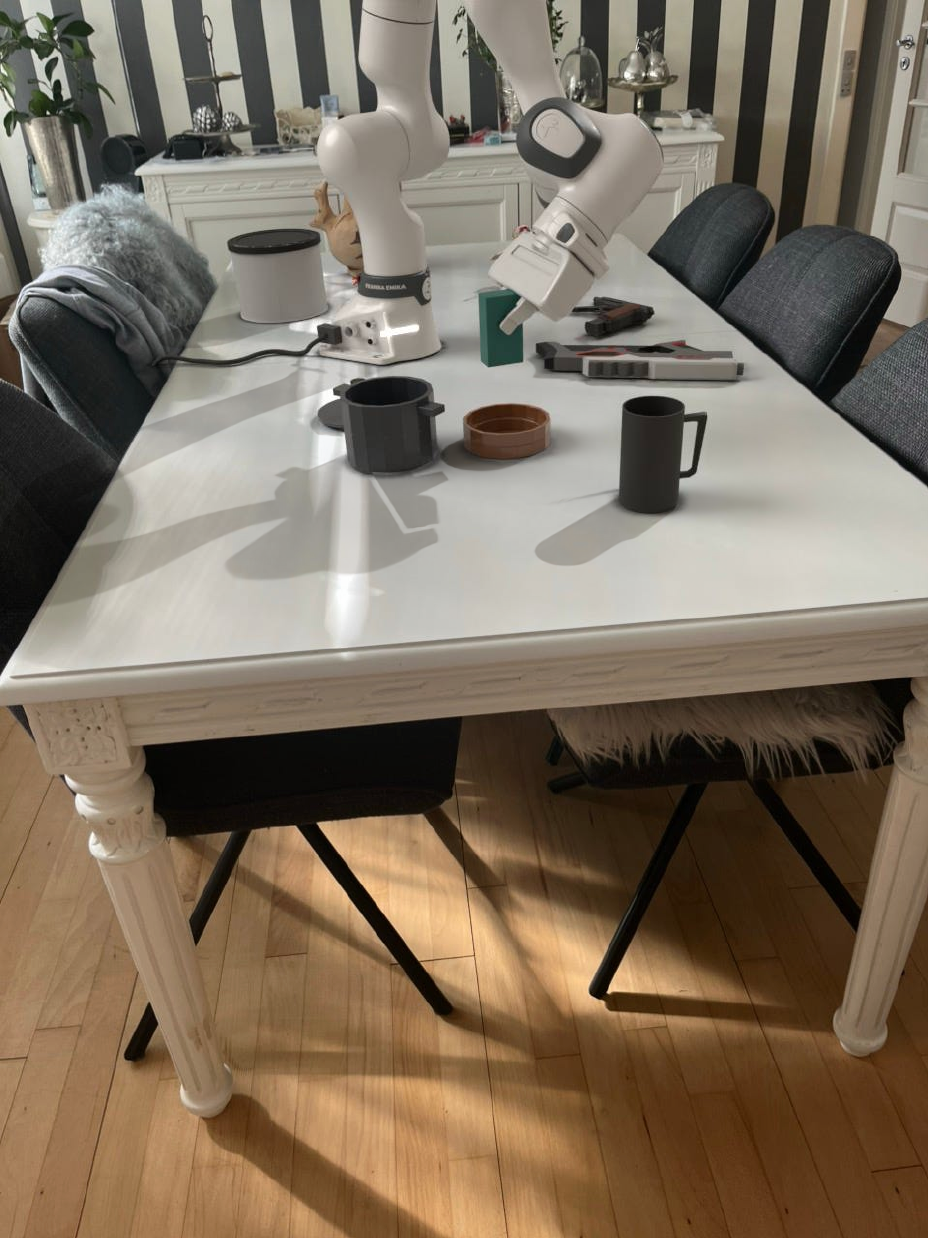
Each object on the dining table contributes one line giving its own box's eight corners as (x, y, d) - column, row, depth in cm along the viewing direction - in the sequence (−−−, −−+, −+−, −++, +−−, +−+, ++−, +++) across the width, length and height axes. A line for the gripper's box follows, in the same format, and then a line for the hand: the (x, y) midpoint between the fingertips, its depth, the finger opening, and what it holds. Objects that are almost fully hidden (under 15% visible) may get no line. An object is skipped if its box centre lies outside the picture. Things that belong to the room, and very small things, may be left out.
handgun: (596, 321, 174) (663, 303, 179) (537, 305, 190) (600, 289, 195) (597, 340, 175) (663, 322, 180) (539, 323, 192) (601, 307, 197)
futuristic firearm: (738, 355, 164) (742, 380, 152) (537, 353, 171) (524, 377, 158) (740, 338, 163) (744, 362, 150) (537, 336, 169) (524, 360, 157)
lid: (366, 438, 139) (362, 401, 136) (300, 423, 146) (294, 386, 143) (423, 410, 148) (420, 374, 145) (358, 396, 155) (354, 361, 152)
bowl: (451, 457, 132) (449, 429, 130) (482, 426, 141) (481, 400, 139) (534, 466, 128) (534, 438, 126) (560, 433, 137) (560, 407, 135)
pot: (414, 486, 124) (408, 416, 119) (315, 460, 134) (306, 393, 128) (470, 454, 132) (467, 387, 127) (374, 431, 142) (367, 368, 137)
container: (319, 296, 214) (310, 224, 206) (337, 315, 198) (328, 239, 190) (234, 307, 209) (222, 234, 201) (246, 328, 194) (232, 250, 186)
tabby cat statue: (376, 261, 241) (365, 152, 227) (422, 272, 228) (413, 156, 215) (314, 275, 231) (299, 162, 218) (359, 287, 219) (345, 167, 205)
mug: (628, 516, 114) (632, 419, 108) (611, 491, 120) (614, 398, 114) (710, 506, 115) (719, 410, 108) (690, 482, 121) (697, 390, 114)
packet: (480, 361, 129) (478, 292, 124) (515, 356, 130) (514, 287, 125) (488, 367, 126) (485, 297, 122) (523, 362, 128) (522, 292, 123)
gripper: (520, 210, 129) (455, 293, 132) (583, 236, 113) (507, 331, 116) (550, 241, 133) (486, 321, 136) (616, 271, 116) (541, 362, 119)
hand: (496, 326), depth 125 cm, fingers closed on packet, 3 cm apart
